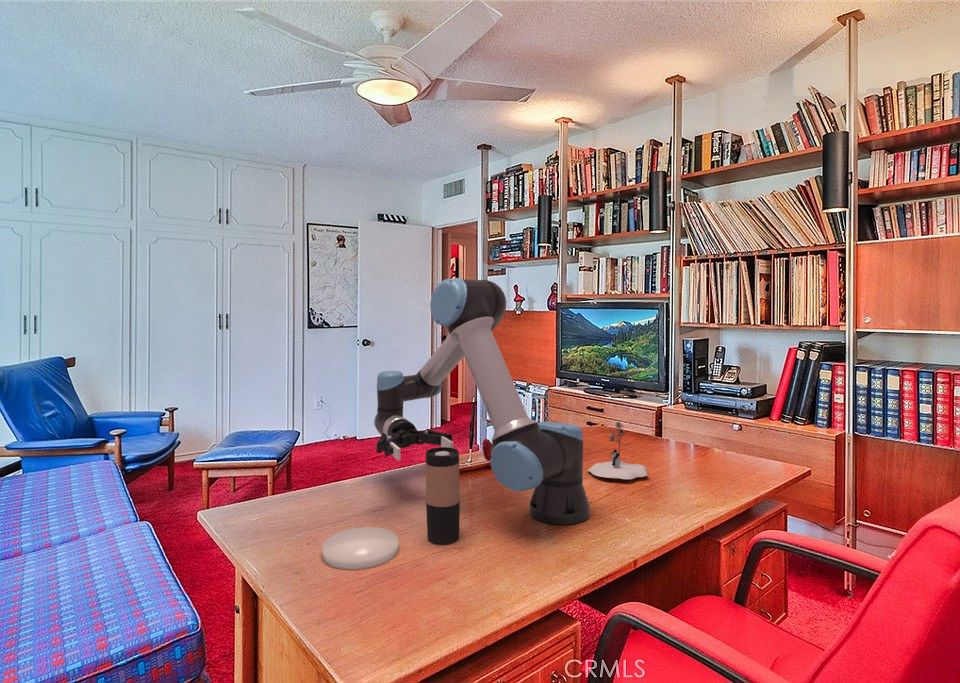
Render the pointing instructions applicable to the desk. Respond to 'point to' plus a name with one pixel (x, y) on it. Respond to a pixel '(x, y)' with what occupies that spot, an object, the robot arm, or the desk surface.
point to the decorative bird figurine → (487, 449)
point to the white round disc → (360, 548)
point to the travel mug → (442, 495)
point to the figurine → (618, 463)
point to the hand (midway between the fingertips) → (426, 451)
